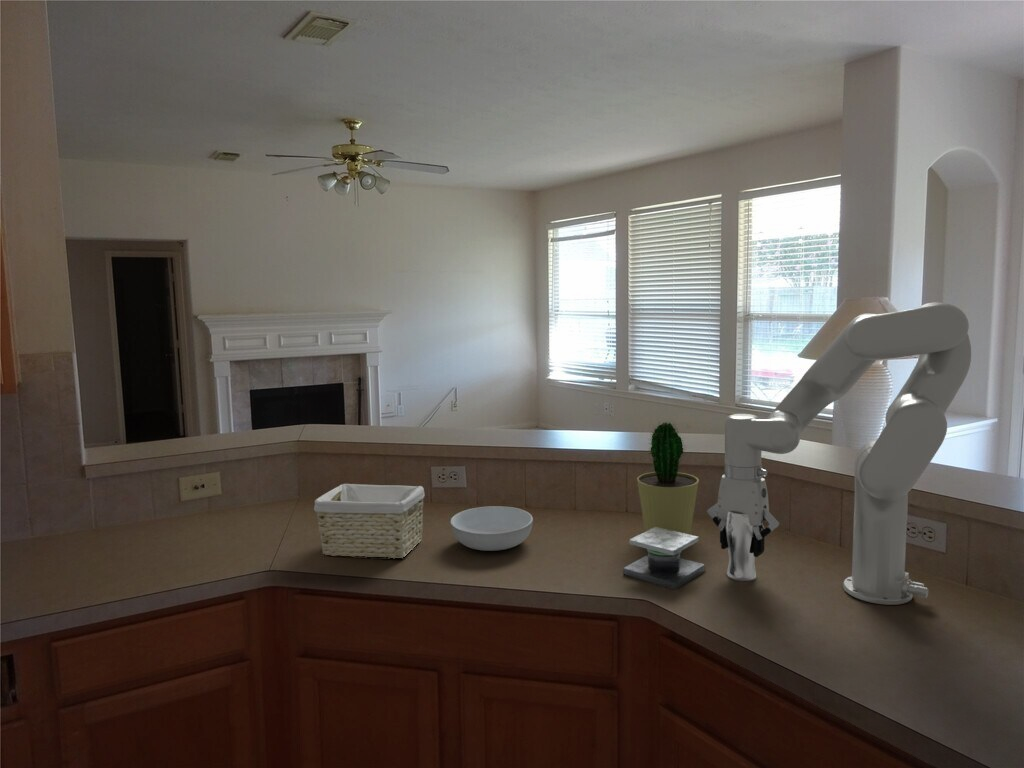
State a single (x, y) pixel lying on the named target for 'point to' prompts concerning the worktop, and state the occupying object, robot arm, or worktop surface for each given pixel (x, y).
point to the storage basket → (370, 520)
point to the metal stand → (664, 558)
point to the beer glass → (740, 547)
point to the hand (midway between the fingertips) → (741, 550)
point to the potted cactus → (667, 485)
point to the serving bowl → (491, 527)
